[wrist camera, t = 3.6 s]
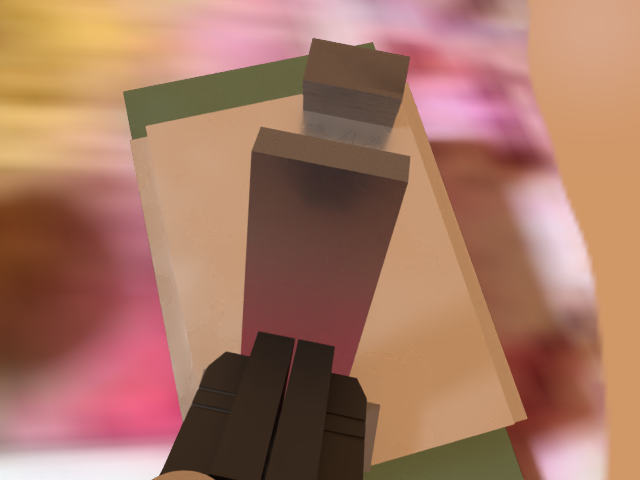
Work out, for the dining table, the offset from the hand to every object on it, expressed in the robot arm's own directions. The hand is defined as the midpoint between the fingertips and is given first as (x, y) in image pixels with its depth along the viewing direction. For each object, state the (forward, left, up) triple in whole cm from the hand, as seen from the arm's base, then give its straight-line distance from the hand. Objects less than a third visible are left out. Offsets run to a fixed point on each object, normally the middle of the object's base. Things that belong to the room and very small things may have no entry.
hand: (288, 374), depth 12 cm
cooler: (-4, +2, -15) cm, 16 cm away
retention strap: (-2, +1, -4) cm, 4 cm away
